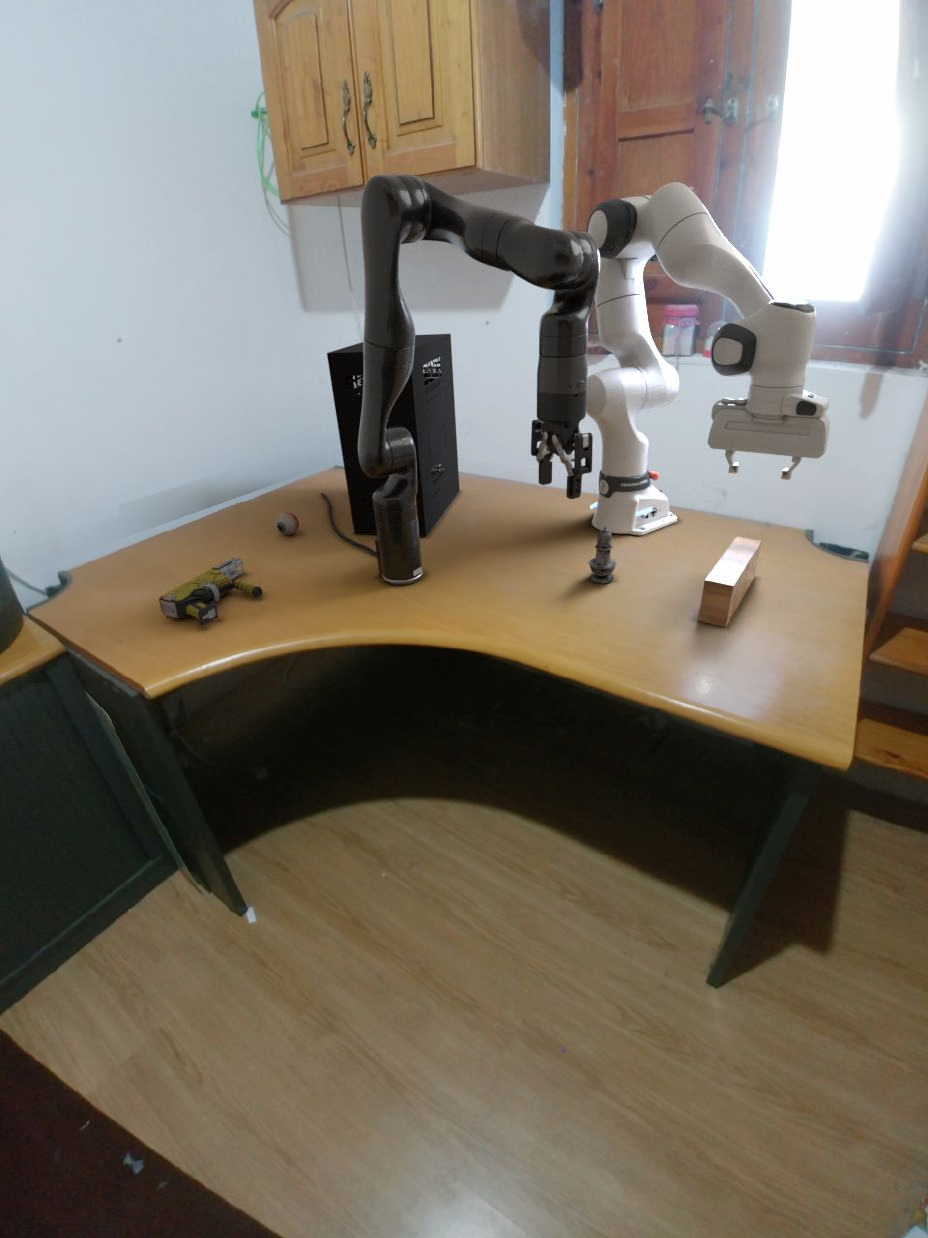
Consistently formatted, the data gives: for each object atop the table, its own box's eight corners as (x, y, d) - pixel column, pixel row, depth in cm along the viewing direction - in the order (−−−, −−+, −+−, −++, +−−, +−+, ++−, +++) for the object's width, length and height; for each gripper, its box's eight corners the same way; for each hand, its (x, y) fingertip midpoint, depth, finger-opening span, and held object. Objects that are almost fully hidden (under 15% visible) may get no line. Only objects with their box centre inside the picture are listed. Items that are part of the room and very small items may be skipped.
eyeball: (273, 537, 164) (268, 516, 161) (287, 528, 169) (282, 508, 166) (291, 539, 161) (286, 518, 158) (305, 530, 166) (301, 510, 163)
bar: (729, 573, 132) (736, 536, 127) (754, 578, 129) (762, 540, 125) (697, 620, 115) (704, 579, 111) (725, 627, 113) (733, 585, 108)
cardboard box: (426, 536, 158) (409, 350, 136) (354, 533, 163) (326, 352, 140) (459, 490, 190) (450, 333, 167) (398, 489, 194) (381, 336, 172)
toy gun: (284, 566, 139) (229, 555, 143) (214, 612, 119) (152, 597, 123) (286, 584, 141) (232, 573, 145) (217, 632, 121) (157, 617, 125)
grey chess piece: (615, 584, 129) (619, 532, 123) (587, 583, 131) (590, 531, 125) (615, 572, 134) (619, 521, 128) (588, 571, 135) (591, 520, 129)
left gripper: (517, 383, 95) (517, 483, 104) (566, 396, 84) (563, 507, 92) (557, 378, 98) (555, 476, 106) (611, 389, 87) (603, 498, 95)
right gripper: (709, 400, 112) (698, 473, 119) (834, 407, 102) (814, 487, 108) (718, 394, 116) (707, 465, 123) (839, 400, 106) (820, 477, 113)
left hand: (558, 490), depth 99 cm, fingers open, 8 cm apart
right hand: (758, 475), depth 116 cm, fingers open, 8 cm apart
